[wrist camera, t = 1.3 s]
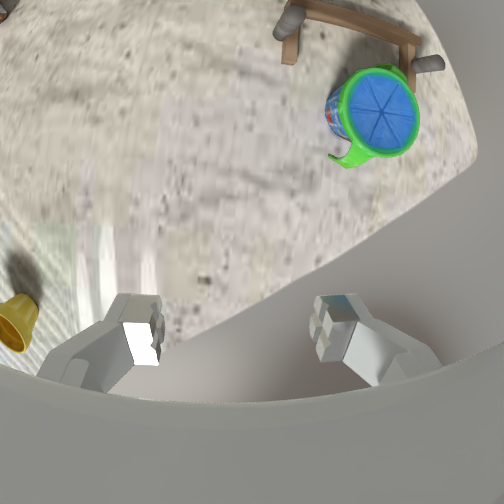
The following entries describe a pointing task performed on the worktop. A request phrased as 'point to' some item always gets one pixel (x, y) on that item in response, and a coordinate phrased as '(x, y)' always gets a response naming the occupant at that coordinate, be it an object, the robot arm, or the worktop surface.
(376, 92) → the snack cup
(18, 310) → the plant pot
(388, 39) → the cradle
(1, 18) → the tin
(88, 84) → the worktop surface
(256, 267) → the worktop surface
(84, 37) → the worktop surface
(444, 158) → the worktop surface
